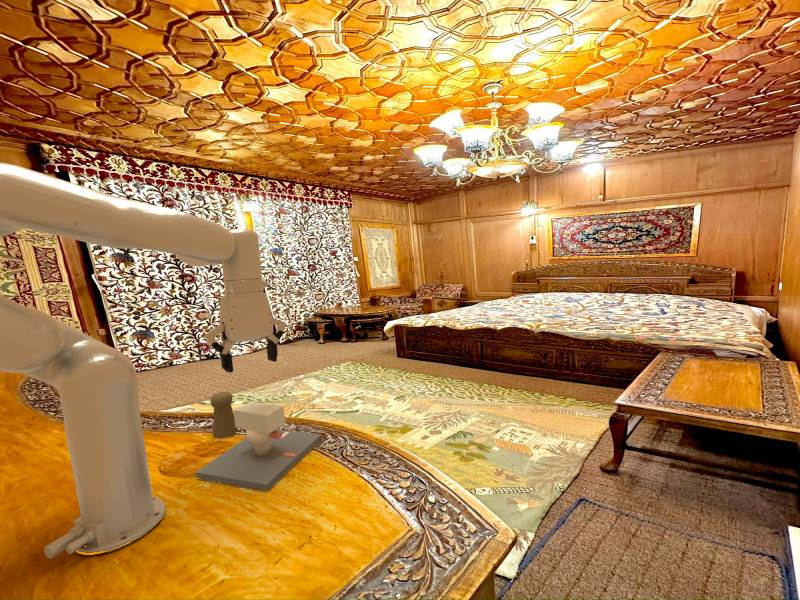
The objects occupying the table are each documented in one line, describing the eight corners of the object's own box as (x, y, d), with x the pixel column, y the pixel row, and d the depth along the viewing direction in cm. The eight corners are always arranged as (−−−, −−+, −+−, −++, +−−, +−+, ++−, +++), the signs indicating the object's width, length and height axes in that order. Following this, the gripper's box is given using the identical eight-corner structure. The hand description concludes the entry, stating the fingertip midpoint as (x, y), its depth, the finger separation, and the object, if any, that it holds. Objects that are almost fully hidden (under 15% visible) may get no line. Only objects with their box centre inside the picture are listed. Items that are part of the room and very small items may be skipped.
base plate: (267, 491, 68) (264, 469, 68) (196, 479, 74) (193, 458, 74) (322, 440, 87) (320, 422, 87) (261, 433, 93) (259, 416, 92)
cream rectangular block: (235, 440, 80) (231, 411, 79) (256, 428, 85) (252, 400, 84) (270, 448, 75) (266, 417, 74) (290, 435, 80) (286, 405, 80)
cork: (219, 441, 90) (214, 399, 89) (208, 435, 94) (203, 395, 93) (242, 431, 95) (237, 391, 94) (231, 425, 98) (226, 387, 97)
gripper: (273, 285, 85) (279, 355, 87) (193, 291, 73) (202, 373, 74) (289, 285, 80) (295, 359, 81) (206, 292, 67) (216, 379, 69)
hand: (251, 365), depth 78 cm, fingers open, 9 cm apart
